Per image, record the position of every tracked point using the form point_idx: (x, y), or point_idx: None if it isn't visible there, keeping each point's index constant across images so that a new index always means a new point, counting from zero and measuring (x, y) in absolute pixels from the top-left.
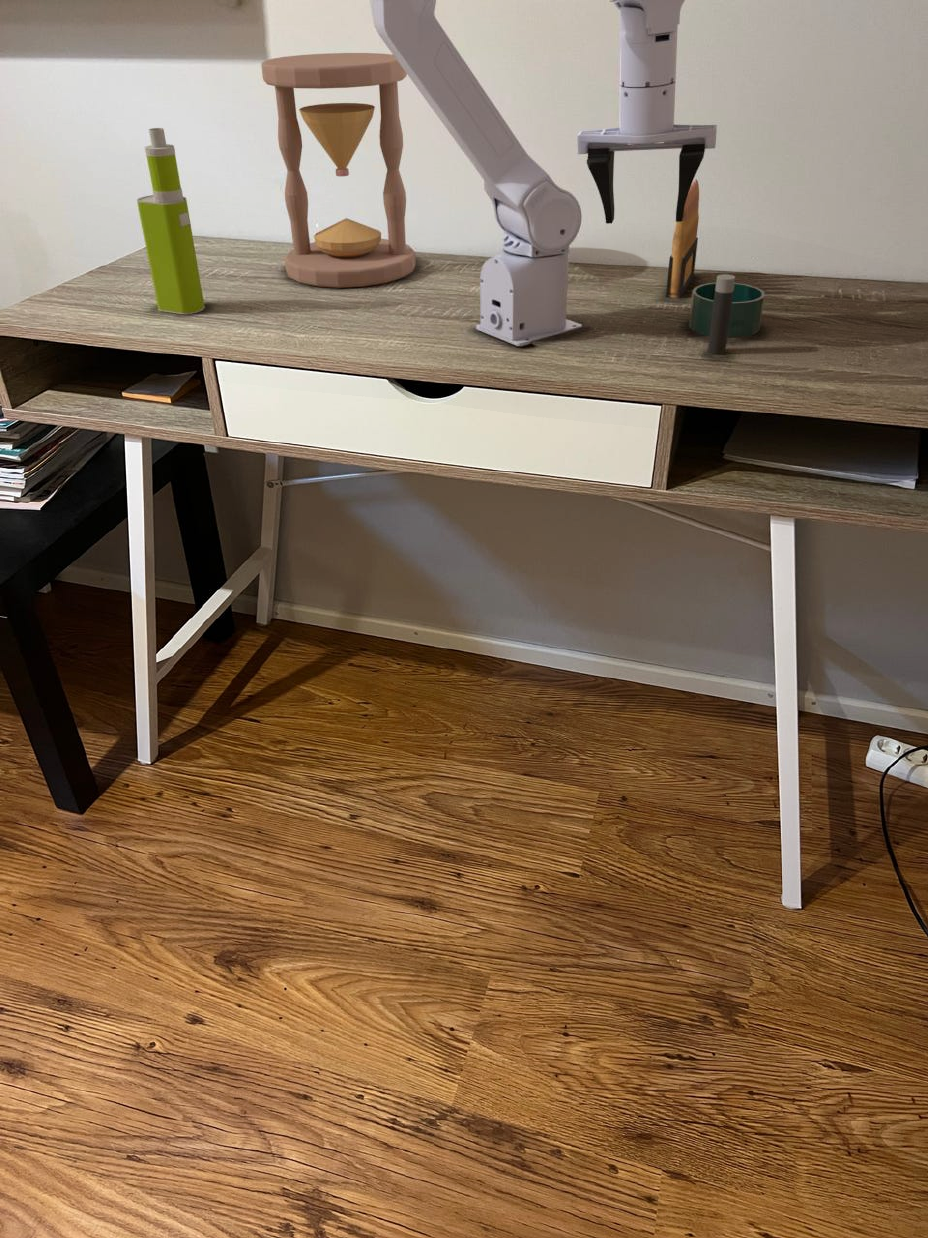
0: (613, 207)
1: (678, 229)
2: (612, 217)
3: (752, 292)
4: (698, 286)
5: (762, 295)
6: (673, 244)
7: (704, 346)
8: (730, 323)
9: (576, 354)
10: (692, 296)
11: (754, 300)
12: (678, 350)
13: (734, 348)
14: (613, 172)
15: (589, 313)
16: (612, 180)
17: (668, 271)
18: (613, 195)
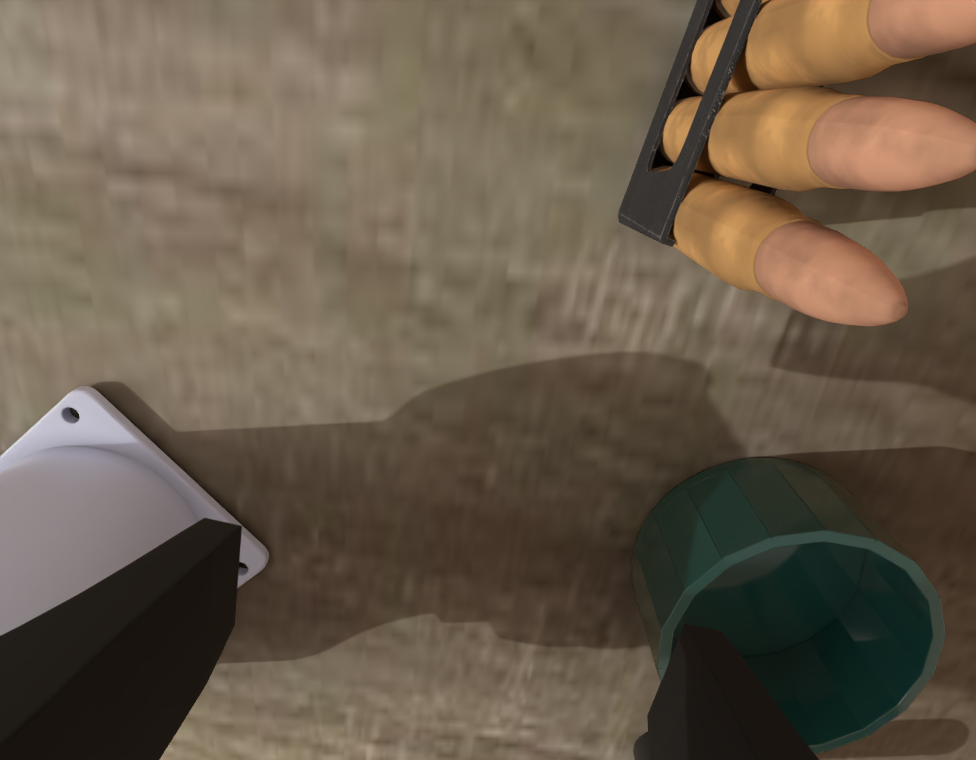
0: (200, 605)
1: (743, 282)
2: (222, 626)
3: (914, 586)
4: (702, 579)
5: (915, 688)
6: (693, 249)
7: (645, 682)
8: None
9: (266, 725)
10: (655, 634)
11: (859, 735)
12: (561, 707)
13: None
14: (7, 742)
15: (290, 376)
16: (58, 749)
17: (644, 234)
18: (153, 613)
